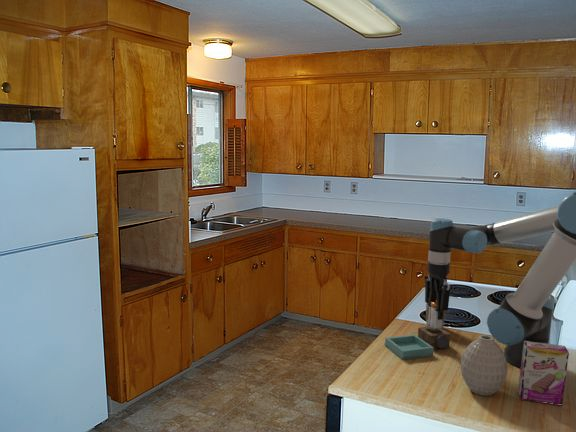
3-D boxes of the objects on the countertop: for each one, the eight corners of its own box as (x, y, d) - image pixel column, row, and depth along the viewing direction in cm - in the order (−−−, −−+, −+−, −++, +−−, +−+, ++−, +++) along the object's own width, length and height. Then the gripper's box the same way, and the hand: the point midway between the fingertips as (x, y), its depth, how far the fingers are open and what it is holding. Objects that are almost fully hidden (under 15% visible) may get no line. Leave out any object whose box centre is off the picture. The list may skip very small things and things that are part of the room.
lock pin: (441, 344, 184) (444, 303, 182) (432, 345, 183) (434, 304, 180) (435, 340, 187) (437, 300, 185) (426, 341, 186) (428, 301, 184)
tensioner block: (451, 348, 181) (453, 335, 180) (432, 351, 179) (433, 337, 178) (436, 338, 190) (437, 325, 189) (417, 340, 188) (418, 327, 187)
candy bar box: (520, 400, 146) (525, 346, 144) (517, 392, 151) (522, 339, 148) (563, 407, 143) (569, 351, 141) (559, 398, 148) (565, 344, 145)
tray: (433, 355, 175) (433, 347, 174) (402, 359, 171) (402, 351, 171) (414, 342, 186) (414, 334, 186) (385, 345, 183) (385, 337, 182)
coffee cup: (429, 322, 207) (431, 286, 205) (449, 327, 202) (451, 290, 200) (420, 327, 201) (422, 291, 199) (440, 333, 196) (443, 295, 193)
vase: (512, 391, 151) (517, 338, 149) (492, 406, 143) (498, 350, 140) (471, 376, 160) (475, 325, 158) (450, 389, 152) (455, 336, 149)
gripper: (462, 267, 174) (457, 332, 178) (434, 256, 189) (431, 317, 193) (443, 268, 172) (439, 334, 175) (417, 257, 187) (413, 318, 191)
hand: (434, 325), depth 184 cm, fingers closed on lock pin, 3 cm apart
